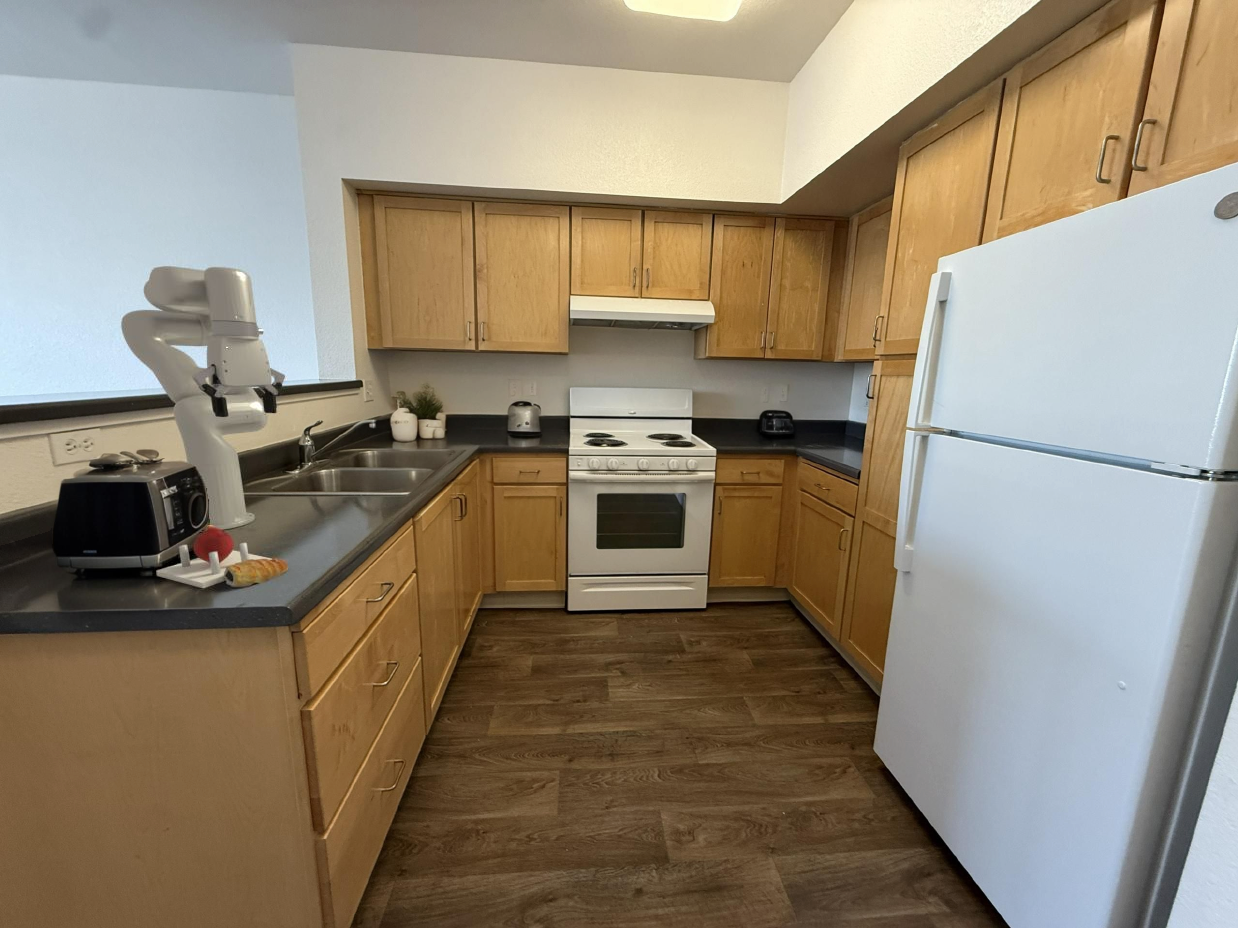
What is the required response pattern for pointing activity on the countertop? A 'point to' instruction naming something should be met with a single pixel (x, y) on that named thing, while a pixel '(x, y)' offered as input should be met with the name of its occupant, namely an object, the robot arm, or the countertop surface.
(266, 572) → the pastry
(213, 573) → the pin tray
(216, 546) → the onion
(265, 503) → the countertop surface
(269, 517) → the countertop surface
